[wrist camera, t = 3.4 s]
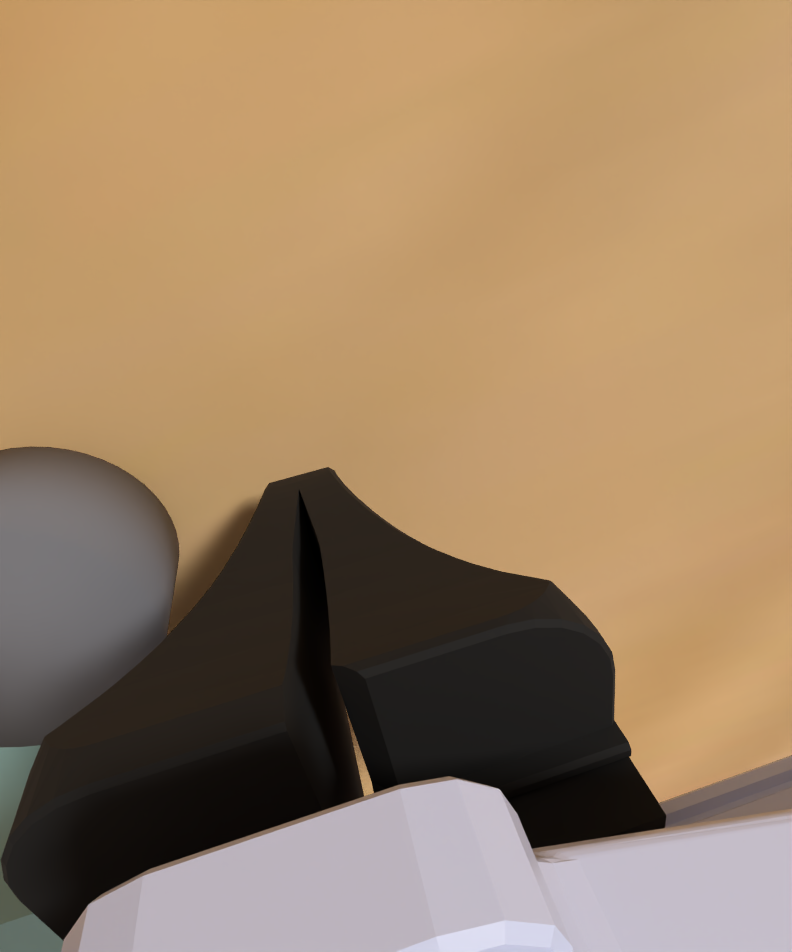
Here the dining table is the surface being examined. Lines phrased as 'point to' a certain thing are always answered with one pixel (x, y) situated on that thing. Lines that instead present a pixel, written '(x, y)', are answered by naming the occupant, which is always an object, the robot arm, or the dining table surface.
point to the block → (3, 916)
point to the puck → (75, 584)
